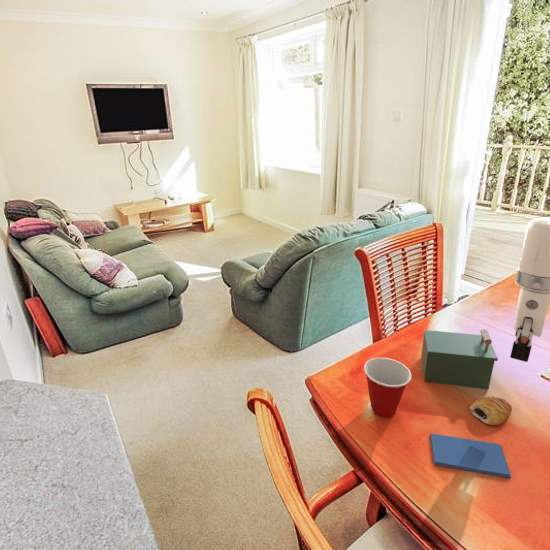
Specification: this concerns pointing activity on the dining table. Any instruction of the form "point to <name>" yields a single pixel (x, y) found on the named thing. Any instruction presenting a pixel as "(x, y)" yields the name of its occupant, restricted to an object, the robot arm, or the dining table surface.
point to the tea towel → (469, 455)
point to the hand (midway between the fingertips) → (521, 347)
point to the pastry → (491, 410)
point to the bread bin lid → (460, 345)
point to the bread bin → (456, 370)
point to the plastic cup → (386, 384)
